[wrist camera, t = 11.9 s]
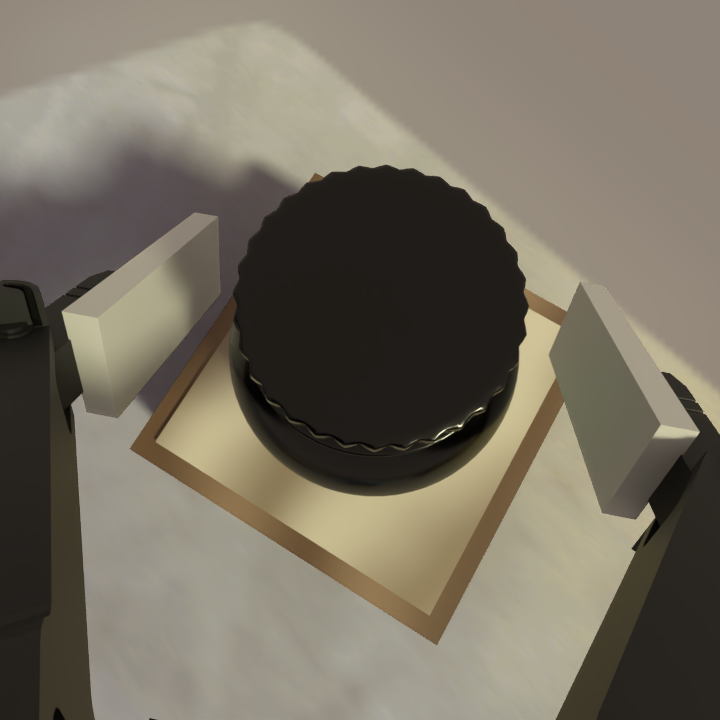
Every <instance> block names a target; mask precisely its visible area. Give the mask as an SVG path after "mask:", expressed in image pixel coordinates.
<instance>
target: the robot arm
mask: <svg viewBox="0 0 720 720" xmlns="http://www.w3.org/2000/svg"><path fill="white" fill-rule="evenodd" d="M220 294H221V285H220V255H219V225H218V216H212V215H207V214H201V213H196V212H194V213H193V214H192V215H190V216H189V217H188V218H186V219H185V220H184V221H182V222H181V223H180V224H178V225H177V226H176V227H174V228H173V229H172V230H170V231H169V232H168V233H166V234H165V235H164V236H162V237H161V238H160V239H158V240H157V241H156V242H154V243H153V244H151V245H150V246H149V247H147V248H146V249H145V250H143V251H142V252H141V253H139V254H138V255H137V256H135V257H134V258H133V259H131V260H130V261H129V262H127V263H126V264H125V265H123V266H122V267H121V268H119V269H118V270H117V271H115V272H114V271H105V272H102V273H99V274H96V275H94V276H91V277H89V278H87V279H86V280H84V281H83V282H82V283H80V284H79V285H77V287H76V288H73V289H72V290H70V291H69V292H67V293H66V296H65V295H63V296H62V297H60V298H59V299H57V300H56V301H55V302H53V303H52V304H50V305H49V306H47V307H46V308H45V307H44V303H43V300H42V296H41V292H40V290H39V288H38V286H36V285H34V284H32V283H30V282H25V281H19V280H3V281H0V720H95V718H94V713H93V707H92V700H91V687H90V670H89V654H88V637H87V621H86V604H85V588H84V571H83V555H82V538H81V522H80V505H79V489H78V472H77V456H76V439H75V423H74V414H73V410H72V407H71V404H72V402H73V401H74V400H75V399H76V398H77V397H78V396H79V395H80V394H81V393H82V395H83V399H84V403H85V407H86V411H87V412H89V413H94V414H99V415H105V416H110V417H115V418H118V417H119V416H120V415H121V414H122V413H123V411H124V410H125V409H126V408H127V407H128V405H129V404H130V403H131V402H132V400H133V399H134V398H135V397H136V396H137V394H138V393H139V392H140V391H141V390H142V388H143V387H144V386H145V385H146V384H147V382H148V381H149V380H150V379H151V378H152V376H153V375H154V374H155V373H156V371H157V370H158V369H159V368H160V367H161V365H162V364H163V363H164V362H165V361H166V359H167V358H168V357H169V356H170V355H171V353H172V352H173V351H174V350H175V349H176V347H177V346H178V345H179V344H180V342H181V341H182V340H183V339H184V338H185V336H186V335H187V334H188V333H189V332H190V330H191V329H192V328H193V327H194V326H195V324H196V323H197V322H198V321H199V320H200V318H201V317H202V316H203V315H204V313H205V312H206V311H207V310H208V309H209V307H210V306H211V305H212V304H213V303H214V301H215V300H216V299H217V298H218V297H219V295H220ZM549 358H550V361H551V364H552V366H553V369H554V372H555V375H556V378H557V381H558V384H559V387H560V390H561V393H562V396H563V399H564V402H565V405H566V408H567V411H568V414H569V416H570V419H571V422H572V425H573V428H574V431H575V434H576V437H577V440H578V443H579V446H580V449H581V452H582V455H583V458H584V461H585V463H586V466H587V469H588V472H589V475H590V478H591V481H592V484H593V487H594V490H595V493H596V496H597V499H598V502H599V505H600V508H601V511H602V513H605V514H610V515H615V516H620V517H625V518H630V519H637V517H638V516H639V514H640V513H641V512H642V510H643V509H644V508H645V506H646V505H647V504H648V502H649V503H650V506H651V508H652V510H653V512H654V515H655V519H654V520H653V521H652V523H651V524H650V525H649V527H648V528H647V529H646V530H645V532H644V533H643V534H642V536H641V537H640V538H639V540H638V541H637V542H636V543H635V545H634V546H633V547H632V549H633V550H634V551H636V553H635V555H634V557H633V559H632V561H631V563H630V565H629V567H628V569H627V571H626V574H625V576H624V578H623V580H622V582H621V584H620V586H619V588H618V590H617V592H616V595H615V597H614V599H613V601H612V603H611V605H610V607H609V609H608V611H607V613H606V615H605V618H604V620H603V622H602V624H601V626H600V628H599V630H598V632H597V634H596V636H595V638H594V641H593V643H592V645H591V647H590V649H589V651H588V653H587V655H586V657H585V659H584V662H583V664H582V666H581V668H580V670H579V672H578V674H577V676H576V678H575V680H574V682H573V685H572V687H571V689H570V691H569V693H568V695H567V697H566V699H565V701H564V703H563V705H562V708H561V710H560V712H559V714H558V716H557V718H556V720H720V434H719V433H718V432H717V430H716V429H715V427H714V426H713V424H712V423H711V422H710V420H709V419H708V417H707V416H706V414H703V410H702V409H701V407H700V406H699V404H698V403H695V401H696V400H695V399H694V397H693V396H692V394H691V393H690V391H689V390H688V389H687V387H686V386H685V385H683V384H682V383H681V382H680V381H679V380H677V379H676V378H675V377H674V376H673V375H671V374H670V373H665V372H660V370H659V368H658V367H657V365H656V364H655V362H654V361H653V359H652V358H651V356H650V355H649V353H648V352H647V350H646V349H645V347H644V345H643V344H642V342H641V341H640V339H639V338H638V336H637V335H636V333H635V332H634V330H633V329H632V327H631V326H630V324H629V322H628V321H627V319H626V318H625V316H624V315H623V313H622V312H621V310H620V309H619V307H618V306H617V304H616V303H615V301H614V299H613V298H612V296H611V295H610V293H609V292H608V290H607V289H606V287H605V286H600V285H595V284H589V283H584V282H580V283H579V286H578V288H577V290H576V293H575V295H574V297H573V299H572V302H571V304H570V306H569V309H568V311H567V313H566V316H565V318H564V320H563V322H562V325H561V327H560V329H559V332H558V334H557V336H556V339H555V341H554V343H553V345H552V348H551V350H550V352H549ZM149 720H156V719H151V718H150V719H149Z"/></svg>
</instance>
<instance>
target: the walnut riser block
mask: <svg viewBox="0 0 720 720" xmlns="http://www.w3.org/2000/svg"><path fill="white" fill-rule="evenodd" d="M323 178H324V177H322V176H320V175H318V174H316V173H315V174H314V175H313V177H312V178H311V180H310V181H309V182H313V181H319V180H322V179H323ZM524 294H525V297H526V299H527V301H528V304H529V309H528V312H527V314H526V316H525V319H524V321H525V326H526V332H527V336H526V337H525V339H524V341H523V342H522V343H521V345H520V346H519V352H520V354H519V370H518V377H517V383H516V387H515V391H514V395H513V398H512V400H511V403H510V406H509V409H508V411H507V413H506V415H505V417H504V419H503V421H502V423H501V425H500V426H499V428H498V429H497V431H496V433H495V434H494V436H493V437H492V438H491V440H490V441H489V442H488V444H487V445H486V446H485V447H484V448H483V449H482V450H481V451H480V452H479V454H478V455H477V456H476V457H474V458H473V459H472V460H471V461H470V462H469V463H468V464H466V465H465V466H464V467H462V468H461V469H460V470H458V471H457V472H455V473H454V474H452V475H451V476H449V477H447V478H445V479H444V480H442V481H440V482H438V483H435V484H433V485H431V486H428V487H426V488H423V489H420V490H417V491H413V492H409V493H404V494H400V495H392V496H358V495H350V494H345V493H340V492H336V491H333V490H330V489H327V488H323V487H321V486H319V485H316V484H314V483H312V482H310V481H308V480H306V479H304V478H302V477H301V476H299V475H297V474H295V473H294V472H293V471H291V470H290V469H288V468H287V467H285V466H284V465H283V464H282V463H281V462H279V461H278V460H277V459H276V458H275V457H274V456H273V455H272V454H271V453H270V452H269V451H268V450H267V449H266V448H265V447H264V446H263V445H262V443H261V442H260V441H259V440H258V438H257V437H256V436H255V434H254V433H253V431H252V430H251V428H250V426H249V425H248V423H247V422H246V419H245V417H244V415H243V413H242V411H241V409H240V407H239V404H238V401H237V399H236V396H235V392H234V388H233V384H232V380H231V373H230V365H229V339H230V332H231V326H232V322H233V318H234V314H235V310H236V308H237V304H236V303H235V300H234V296H232V297H231V299H230V300H229V302H228V303H227V305H226V306H225V308H224V309H223V311H222V312H221V314H220V315H219V317H218V318H217V320H216V321H215V323H214V324H213V326H212V327H211V329H210V330H209V332H208V333H207V335H206V336H205V338H204V339H203V341H202V342H201V344H200V345H199V346H198V348H197V349H196V351H195V352H194V354H193V355H192V357H191V358H190V360H189V361H188V363H187V364H186V366H185V367H184V369H183V370H182V372H181V373H180V375H179V376H178V378H177V379H176V381H175V382H174V384H173V385H172V387H171V388H170V390H169V391H168V393H167V394H166V396H165V397H164V399H163V400H162V402H161V403H160V405H159V406H158V408H157V409H156V410H155V412H154V413H153V415H152V416H151V418H150V419H149V421H148V422H147V424H146V425H145V427H144V428H143V430H142V431H141V433H140V434H139V436H138V437H137V439H136V440H135V442H134V443H133V445H132V446H131V448H130V449H131V450H132V451H134V452H135V453H137V454H139V455H140V456H142V457H143V458H145V459H146V460H148V461H149V462H151V463H153V464H154V465H156V466H157V467H159V468H160V469H162V470H164V471H165V472H167V473H168V474H170V475H171V476H173V477H175V478H176V479H178V480H179V481H181V482H182V483H184V484H185V485H187V486H189V487H190V488H192V489H193V490H195V491H196V492H198V493H200V494H201V495H203V496H204V497H206V498H207V499H209V500H210V501H212V502H214V503H215V504H217V505H218V506H220V507H221V508H223V509H225V510H226V511H228V512H229V513H231V514H232V515H234V516H236V517H237V518H239V519H240V520H242V521H243V522H245V523H246V524H248V525H250V526H251V527H253V528H254V529H256V530H257V531H259V532H261V533H262V534H264V535H265V536H267V537H268V538H270V539H271V540H273V541H275V542H276V543H278V544H279V545H281V546H282V547H284V548H286V549H287V550H289V551H290V552H292V553H293V554H295V555H296V556H298V557H300V558H301V559H303V560H304V561H306V562H307V563H309V564H311V565H312V566H314V567H315V568H317V569H318V570H320V571H322V572H323V573H325V574H326V575H328V576H329V577H331V578H332V579H334V580H336V581H337V582H339V583H340V584H342V585H343V586H345V587H347V588H348V589H350V590H351V591H353V592H354V593H356V594H357V595H359V596H361V597H362V598H364V599H365V600H367V601H368V602H370V603H372V604H373V605H375V606H376V607H378V608H379V609H381V610H383V611H384V612H386V613H387V614H389V615H390V616H392V617H393V618H395V619H397V620H398V621H400V622H401V623H403V624H404V625H406V626H408V627H409V628H411V629H412V630H414V631H415V632H417V633H418V634H420V635H422V636H423V637H425V638H426V639H428V640H429V641H431V642H433V643H434V644H436V645H437V644H438V642H439V640H440V638H441V636H442V634H443V632H444V631H445V629H446V627H447V625H448V623H449V621H450V619H451V617H452V615H453V613H454V611H455V609H456V608H457V606H458V604H459V602H460V600H461V598H462V596H463V594H464V592H465V590H466V588H467V587H468V585H469V583H470V581H471V579H472V577H473V575H474V573H475V571H476V569H477V567H478V565H479V564H480V562H481V560H482V558H483V556H484V554H485V552H486V550H487V548H488V546H489V544H490V542H491V541H492V539H493V537H494V535H495V533H496V531H497V529H498V527H499V525H500V523H501V521H502V519H503V518H504V516H505V514H506V512H507V510H508V508H509V506H510V504H511V502H512V500H513V498H514V496H515V495H516V493H517V491H518V489H519V487H520V485H521V483H522V481H523V479H524V477H525V475H526V473H527V472H528V470H529V468H530V466H531V464H532V462H533V460H534V458H535V456H536V454H537V452H538V450H539V449H540V447H541V445H542V443H543V441H544V439H545V437H546V435H547V433H548V431H549V429H550V427H551V426H552V424H553V422H554V420H555V418H556V416H557V414H558V412H559V410H560V408H561V406H562V404H563V403H564V399H563V396H562V393H561V390H560V387H559V384H558V381H557V378H556V375H555V372H554V369H553V366H552V364H551V361H550V358H549V352H550V350H551V348H552V345H553V343H554V341H555V339H556V336H557V334H558V332H559V329H560V327H561V325H562V322H563V320H564V318H565V316H566V313H567V312H566V311H565V310H563V309H561V308H559V307H557V306H555V305H554V304H552V303H550V302H548V301H546V300H545V299H543V298H541V297H539V296H537V295H536V294H534V293H532V292H530V291H528V290H527V289H524Z"/></svg>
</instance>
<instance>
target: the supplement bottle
mask: <svg viewBox="0 0 720 720" xmlns="http://www.w3.org/2000/svg"><path fill="white" fill-rule="evenodd" d="M517 262H518V256H517V252H516V250H515V249H514V248H513V247H512V246H511V245H510V244H509V243H508V242H507V240H506V234H505V231H504V228H503V227H502V226H500V225H499V224H498V223H496V222H495V221H493V220H492V219H491V217H490V214H489V212H488V210H487V208H486V207H485V206H483V205H482V204H480V203H477V202H475V201H473V200H472V199H471V197H470V196H469V194H468V193H467V192H466V191H465V190H464V189H461V188H458V187H452V186H450V185H449V184H448V183H447V182H446V181H445V180H443V179H442V178H441V177H438V176H425V175H424V174H422V173H421V172H419V171H418V170H416V169H414V168H411V169H403V170H399V169H397V168H394V167H392V166H389V165H383V166H379V167H376V168H369V167H363V166H357V167H355V168H353V169H351V170H350V171H347V172H331V173H330V174H328V175H327V176H325V177H324V178H323V179H322V180H319V181H313V182H308V183H306V184H305V185H304V186H303V187H302V188H301V190H300V191H299V192H298V193H296V194H293V195H290V196H288V197H285V198H284V199H283V200H282V202H281V203H280V206H279V208H278V209H277V210H276V211H274V212H272V213H270V214H269V215H267V216H266V217H264V220H263V222H262V227H261V229H260V231H259V232H257V233H256V234H255V235H254V236H253V237H252V238H251V239H250V240H249V243H248V250H247V255H246V256H245V257H244V258H243V260H242V261H241V262H240V264H239V265H238V273H239V281H238V283H237V285H236V287H235V289H234V291H233V296H234V300H235V303H236V304H237V308H236V310H235V314H234V318H233V322H232V326H231V332H230V339H229V365H230V373H231V380H232V384H233V388H234V392H235V396H236V399H237V401H238V404H239V407H240V409H241V411H242V413H243V415H244V417H245V419H246V422H247V423H248V425H249V426H250V428H251V430H252V431H253V433H254V434H255V436H256V437H257V438H258V440H259V441H260V442H261V443H262V445H263V446H264V447H265V448H266V449H267V450H268V451H269V452H270V453H271V454H272V455H273V456H274V457H275V458H276V459H277V460H278V461H279V462H281V463H282V464H283V465H284V466H285V467H287V468H288V469H290V470H291V471H293V472H294V473H295V474H297V475H299V476H301V477H302V478H304V479H306V480H308V481H310V482H312V483H314V484H316V485H319V486H321V487H323V488H327V489H330V490H333V491H336V492H340V493H345V494H350V495H358V496H392V495H400V494H404V493H409V492H413V491H417V490H420V489H423V488H426V487H428V486H431V485H433V484H435V483H438V482H440V481H442V480H444V479H445V478H447V477H449V476H451V475H452V474H454V473H455V472H457V471H458V470H460V469H461V468H462V467H464V466H465V465H466V464H468V463H469V462H470V461H471V460H472V459H473V458H474V457H476V456H477V455H478V454H479V452H480V451H481V450H482V449H483V448H484V447H485V446H486V445H487V444H488V442H489V441H490V440H491V438H492V437H493V436H494V434H495V433H496V431H497V429H498V428H499V426H500V425H501V423H502V421H503V419H504V417H505V415H506V413H507V411H508V409H509V406H510V403H511V400H512V398H513V395H514V391H515V387H516V383H517V377H518V370H519V354H520V352H519V346H520V345H521V343H522V342H523V341H524V339H525V337H526V336H527V332H526V326H525V321H524V319H525V316H526V314H527V312H528V309H529V304H528V301H527V299H526V297H525V294H524V289H525V283H526V278H525V276H524V275H523V273H522V271H521V270H520V269H519V267H518V263H517Z"/></svg>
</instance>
